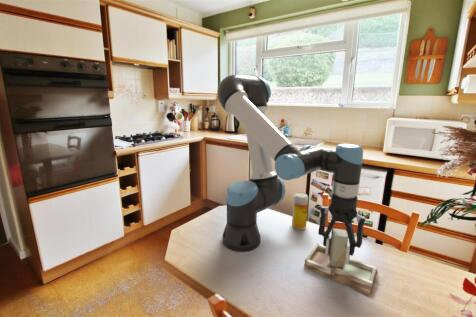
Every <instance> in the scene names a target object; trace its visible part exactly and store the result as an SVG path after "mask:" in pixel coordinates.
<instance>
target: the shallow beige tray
mask: <svg viewBox="0 0 476 317" xmlns="http://www.w3.org/2000/svg"><path fill="white" fill-rule="evenodd" d="M325 251H326V246H323V244H321V243H316V245H315V246H314V247H313V249H311V251H310V252H309V254H308V255H307V257H306V258H305V259H304V265H303V268H304V269H307V270H309V271H311V272H314V273H317V274H320V276H324V277H326V278H329V279H331V280H333V281H335V282H337V283H340V284H342V285H345V286H347V287H350V288H351V289H354V290H356V291H359V292H361V293H364V294H366V295H368V296H370V295H371V292H372V287H373V285H374V284H373V283H374V281H375V277H376V274H377V270H378V267H377V266H374V265H371V264H368V263H367V262H363V261H360V260H357V259H354V258H351V257H350V261H349V263H348V265H346V264H345V267H336V266H331V263H330V259H329V255H328V257H325Z"/></svg>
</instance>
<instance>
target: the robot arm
mask: <svg viewBox="0 0 476 317" xmlns="http://www.w3.org/2000/svg"><path fill="white" fill-rule="evenodd" d="M216 92H217V93H216V95H217V100H218V102H219V105H220V106H221V107H222V109H223V110H224V111H225V112H226V113H227V114H228V115H233V117H235V119H236V120H237V121H238V122H239V123H240V124H241V126H242V127H244V129H245V133H246V134H245V135H246V140H247V146H248V153H249V160H250V166H251V172H252V173H251V175H250V176H249V180H242V181H241V180H240V181H236V182H234V183H232V184H230V185H229V186H227V187H228V188H227V189H226V196H225V202H226V225H225V227H224V230H223V232H222V237H221V238H222V244H223V246H224V247H225V248H226V249H228V250H230V251H234V252H235V253H245V252H251V251H254V250H255V249H258V247H259V246H260V245H261V242H262V241H261V237H262V236H261V233H260V231H259V226H258V223H257V217H258V215H257V214H258V213H261V212H262V211H264V210H267V209H270V208H271V207H275V206H277V205H278V204H279V203H281V202H282V201H283V200H284V198H285V196H286V185H285V183H284V182H283V181H282V180H284V181H292V180H296V179H300V178H301V177H303V176H305V175H308V174H311V173H314V172H317V171H322V172H326V173H332V174H333V175H332V176H333V177H332V184H331V185H332V186H331V194H330V195H331V197H330V204H329V206H326V205H322V206H321V208H319V212H320V218H319V220H320V221H319V226H318V233H317V234H318V235H319V236H321V237H323V240H322V241H323V243H322V245H323V246H326V251H325V257H328V255H329V253H330V244H331V235H330V234H331V233H332V229H334V226H335V224H336V222H341V223H343V224H344V226H345V230H346V233H347V235H348V244H347V252H346V260H345V264H346V265H348V263H349V261H350V258H351V256H354V254H355V250H356V249H355V248H361V246H362V245H363V236H364V224H365V222H366V220H367V216H366V215H361V214H358V211H357V206H358V198H359V197H358V195H359V192H360V190H359V189H360V181H361V180H360V179H361V176H362V166H363V162H364V159H363V158H364V148H363V147H362V146H361V145H359V144H354V143H353V144H352V143H338V144H337V145H336V147H335V148H330V147H325V146H318V145H315V144H312V145H311V144H305V145H303V146H302V147H301V148H300V149H298V148H297V147H296V146H295V145H294V144H293V143H292V142H291V141H290V140H289V138H287V137H286V136H285V135H284V134H283V133H282V132H281V131H280V129H278V128H277V126H275V125H274V124H273V123H272V122H271V120H270V119H269V118H268V117H266V116H265V115H266V114H265V112H266V110H267V109H268V103H269V102H270V98H271V95H272V91H271V86H270V84H269V82H268V81H267V80H266V79H265V78H264V77H260V76H258V75H239V74H231V75H228V76H225V77H224V78H223V79H222V80H221V81H220V83H219V84H218V87H217V90H216ZM272 160H273V161H274V168H273V161H272ZM328 213H330V215H331V216H332V218H331V220H330V222H329V224H328V226H327V228H326V221H327V217H328ZM355 219H356V222H357V223H358V224H357V232H356V236H355V232H354V227H353V220H355ZM325 228H326V230H325Z"/></svg>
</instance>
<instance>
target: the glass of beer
mask: <svg viewBox="0 0 476 317" xmlns="http://www.w3.org/2000/svg"><path fill="white" fill-rule="evenodd" d="M292 204H293V205H292V216H291V217H292V220H291V225H292V227H293V228H294V229H296V230H304V229H305V228H307V221H308V220H307V219H308V208H309V196H308V194H307V193H305V192H296V193H294V195H293V203H292Z"/></svg>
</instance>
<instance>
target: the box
mask: <svg viewBox="0 0 476 317" xmlns="http://www.w3.org/2000/svg"><path fill="white" fill-rule="evenodd" d="M330 234H331V235H330V236H331V244H330V253H329V259H330V263H331V266H336V267H345V260H346V252H347V246H348V244H349V239H348V234H347V229H343V228H342V229H341V228H332V230H331V233H330Z"/></svg>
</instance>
